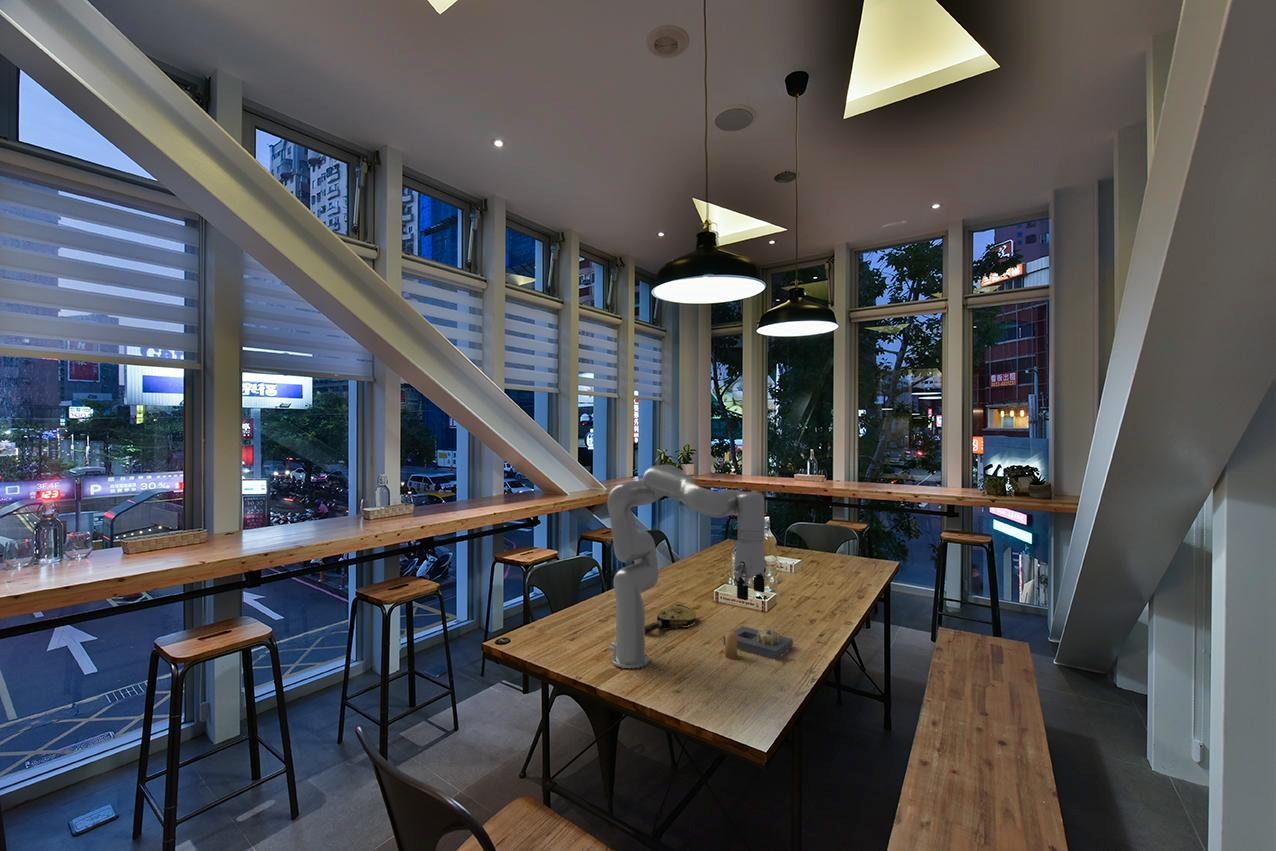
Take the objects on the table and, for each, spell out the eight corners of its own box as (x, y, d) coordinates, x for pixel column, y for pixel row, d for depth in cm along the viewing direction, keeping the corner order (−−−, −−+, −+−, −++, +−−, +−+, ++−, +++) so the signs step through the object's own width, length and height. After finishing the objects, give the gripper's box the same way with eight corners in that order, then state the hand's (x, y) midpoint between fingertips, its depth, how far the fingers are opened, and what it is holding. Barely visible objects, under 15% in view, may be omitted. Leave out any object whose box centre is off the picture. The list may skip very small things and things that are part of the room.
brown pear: (723, 657, 183) (723, 633, 183) (728, 653, 186) (729, 630, 186) (733, 660, 180) (733, 636, 180) (739, 656, 183) (739, 632, 183)
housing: (723, 645, 193) (723, 627, 193) (742, 634, 204) (742, 616, 204) (775, 660, 180) (775, 640, 180) (792, 647, 191) (792, 629, 191)
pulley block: (631, 614, 207) (680, 597, 228) (629, 628, 207) (679, 610, 229) (658, 629, 197) (707, 610, 219) (656, 644, 198) (705, 624, 219)
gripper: (753, 529, 163) (753, 586, 163) (723, 538, 150) (723, 599, 150) (776, 532, 158) (776, 591, 158) (747, 541, 145) (747, 605, 145)
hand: (750, 595), depth 154 cm, fingers open, 9 cm apart
